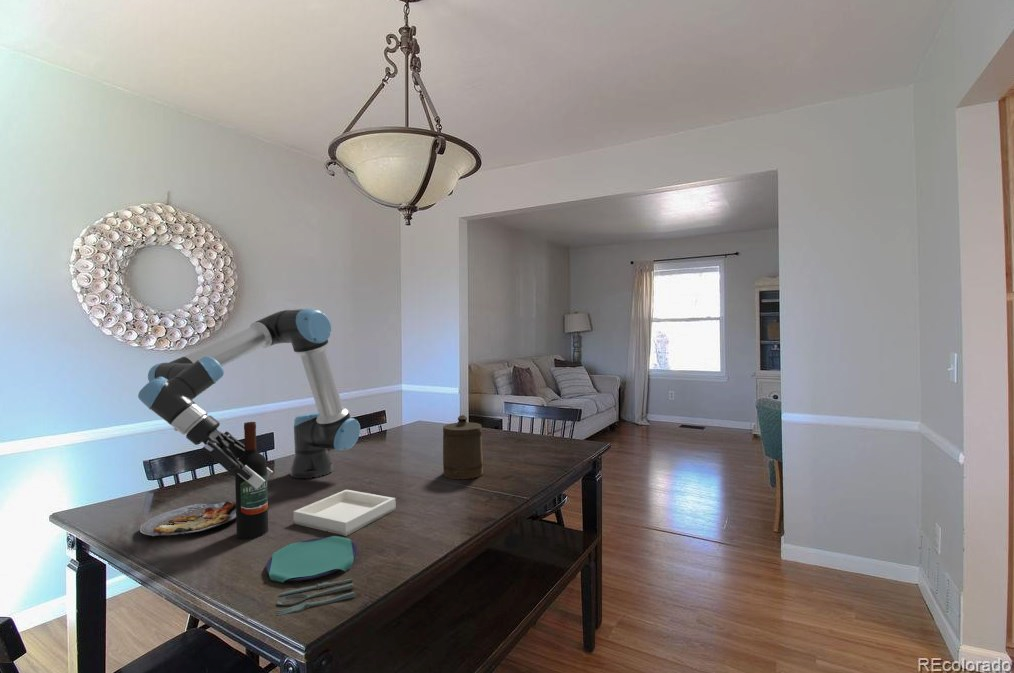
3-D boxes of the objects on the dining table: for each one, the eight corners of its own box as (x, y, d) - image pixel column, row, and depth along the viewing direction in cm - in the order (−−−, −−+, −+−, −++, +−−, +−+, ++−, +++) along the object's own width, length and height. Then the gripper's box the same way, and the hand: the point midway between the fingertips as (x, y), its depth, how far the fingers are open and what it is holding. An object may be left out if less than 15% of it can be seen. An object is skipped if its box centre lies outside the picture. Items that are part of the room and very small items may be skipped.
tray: (293, 523, 134) (293, 511, 133) (346, 500, 151) (346, 489, 151) (346, 535, 125) (346, 522, 125) (395, 509, 143) (395, 498, 143)
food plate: (257, 504, 149) (256, 493, 149) (226, 536, 126) (225, 523, 126) (169, 513, 145) (169, 501, 145) (122, 548, 122) (121, 534, 122)
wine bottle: (263, 524, 133) (260, 419, 133) (272, 532, 128) (269, 422, 127) (233, 533, 128) (230, 423, 127) (241, 541, 122) (238, 426, 122)
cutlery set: (355, 538, 124) (354, 529, 123) (365, 600, 96) (364, 589, 96) (270, 553, 116) (270, 544, 116) (254, 625, 88) (254, 613, 88)
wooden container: (473, 466, 188) (472, 411, 187) (489, 476, 174) (488, 416, 174) (438, 471, 181) (437, 414, 181) (451, 482, 168) (450, 420, 167)
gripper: (201, 428, 134) (264, 479, 138) (167, 444, 114) (243, 504, 118) (221, 408, 135) (283, 460, 139) (192, 421, 115) (266, 481, 119)
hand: (265, 480), depth 128 cm, fingers closed on wine bottle, 7 cm apart
